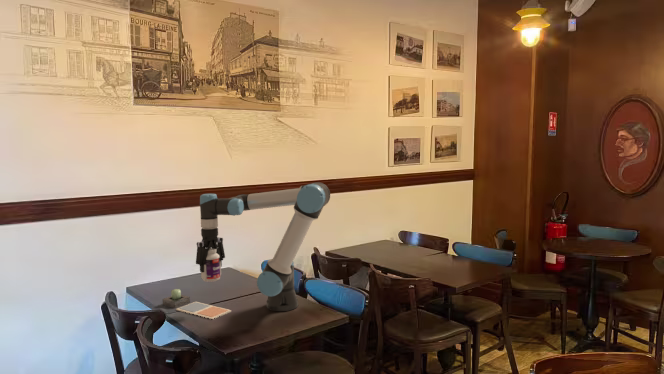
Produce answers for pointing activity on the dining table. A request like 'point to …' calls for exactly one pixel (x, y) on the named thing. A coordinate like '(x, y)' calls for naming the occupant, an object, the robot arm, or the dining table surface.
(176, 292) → the button
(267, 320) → the dining table surface
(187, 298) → the button housing
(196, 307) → the board
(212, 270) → the pill bottle
